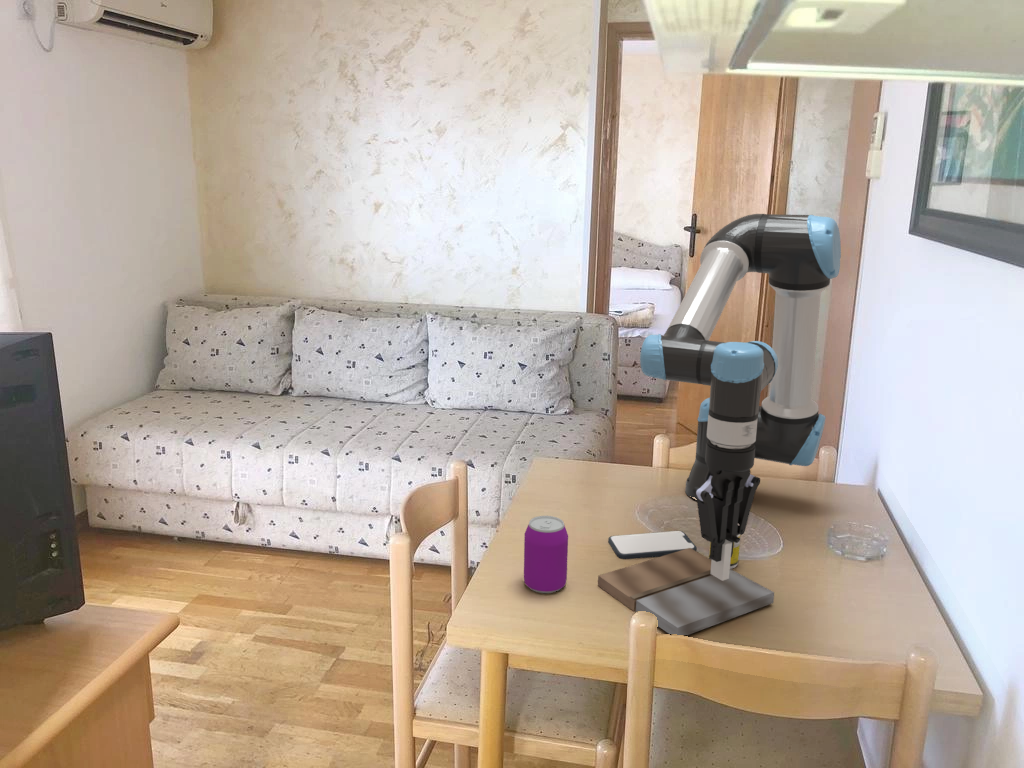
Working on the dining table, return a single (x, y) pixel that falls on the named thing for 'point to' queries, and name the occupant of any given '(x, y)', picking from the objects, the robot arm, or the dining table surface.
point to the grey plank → (705, 603)
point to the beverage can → (545, 554)
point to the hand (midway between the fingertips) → (719, 576)
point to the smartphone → (649, 544)
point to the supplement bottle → (735, 554)
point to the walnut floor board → (655, 576)
